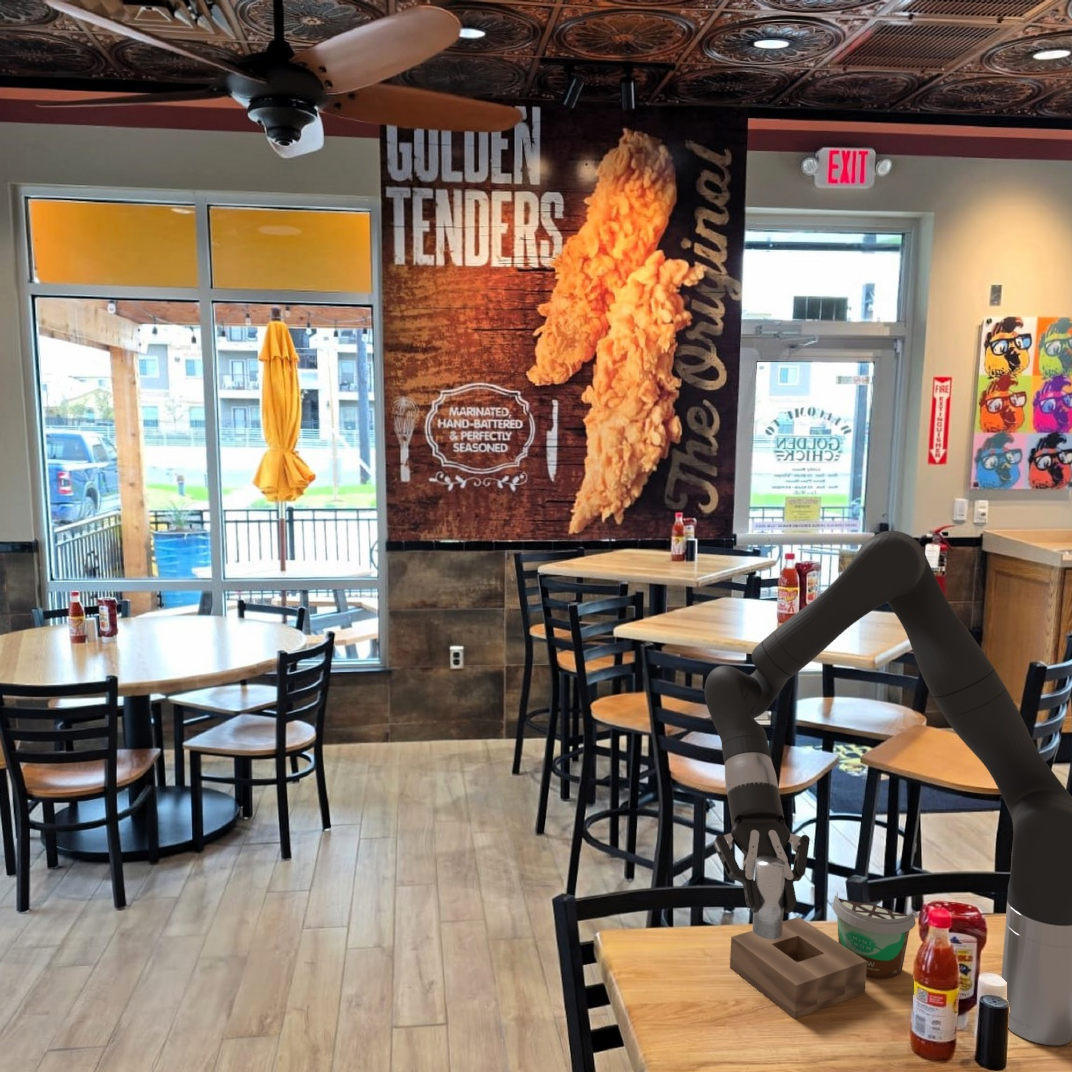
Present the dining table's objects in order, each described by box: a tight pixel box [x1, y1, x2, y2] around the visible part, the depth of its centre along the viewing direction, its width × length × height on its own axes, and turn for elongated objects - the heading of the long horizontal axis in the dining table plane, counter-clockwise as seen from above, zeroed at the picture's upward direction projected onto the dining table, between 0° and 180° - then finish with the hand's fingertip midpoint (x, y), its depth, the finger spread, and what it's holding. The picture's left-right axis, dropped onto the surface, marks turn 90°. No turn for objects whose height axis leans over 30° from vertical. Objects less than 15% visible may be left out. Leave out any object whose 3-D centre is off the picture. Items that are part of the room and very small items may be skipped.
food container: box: [832, 891, 916, 980], centre depth 138 cm, size 12×6×10 cm, turn 62°
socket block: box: [729, 916, 867, 1020], centre depth 136 cm, size 14×14×5 cm
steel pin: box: [752, 855, 785, 939], centre depth 123 cm, size 4×4×10 cm
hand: (772, 910), depth 121 cm, fingers closed on steel pin, 4 cm apart
